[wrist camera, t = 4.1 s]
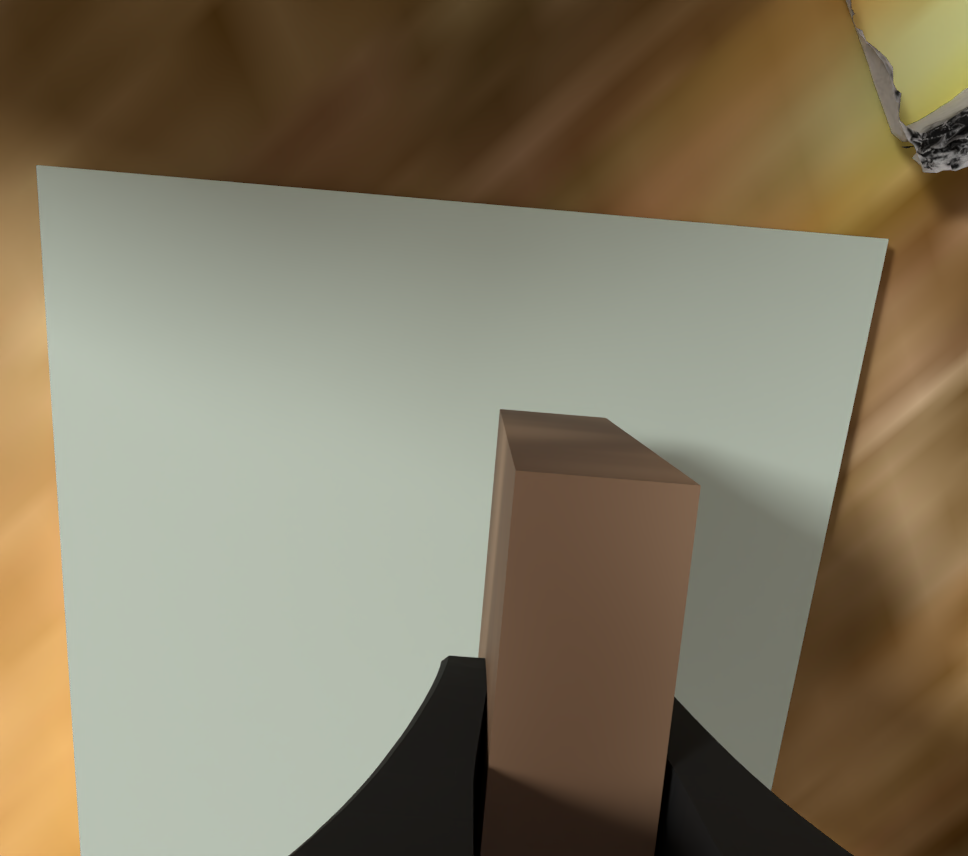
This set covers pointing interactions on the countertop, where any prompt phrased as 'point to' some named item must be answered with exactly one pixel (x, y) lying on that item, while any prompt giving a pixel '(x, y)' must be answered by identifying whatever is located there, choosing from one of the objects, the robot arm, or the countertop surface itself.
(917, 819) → the countertop surface
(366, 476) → the mat
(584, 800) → the walnut slab
